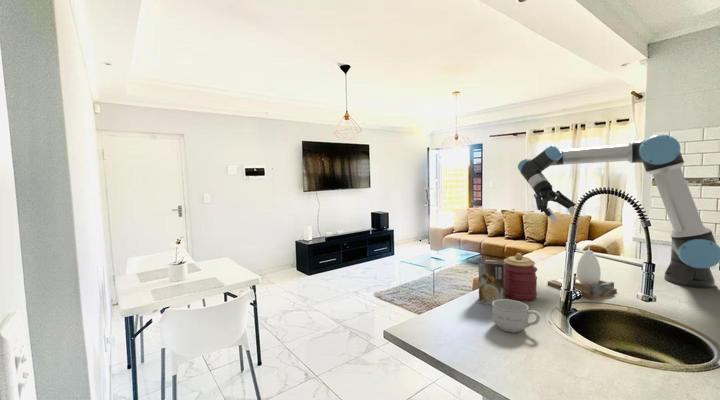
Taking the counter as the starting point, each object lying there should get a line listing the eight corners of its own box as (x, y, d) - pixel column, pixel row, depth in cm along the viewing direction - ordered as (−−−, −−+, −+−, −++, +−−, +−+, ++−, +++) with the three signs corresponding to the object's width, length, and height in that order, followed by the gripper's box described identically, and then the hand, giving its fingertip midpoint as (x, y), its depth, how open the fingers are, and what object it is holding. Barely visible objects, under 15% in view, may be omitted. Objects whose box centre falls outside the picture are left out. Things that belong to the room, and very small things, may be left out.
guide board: (573, 279, 146) (573, 269, 146) (616, 292, 129) (617, 281, 129) (547, 284, 141) (547, 274, 140) (589, 299, 124) (589, 288, 123)
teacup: (485, 327, 105) (485, 303, 104) (502, 317, 112) (503, 294, 111) (529, 344, 94) (529, 318, 93) (545, 332, 101) (546, 307, 100)
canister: (544, 299, 126) (545, 254, 124) (519, 304, 121) (519, 259, 120) (518, 288, 138) (518, 247, 136) (494, 292, 133) (494, 251, 132)
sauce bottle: (593, 284, 135) (595, 242, 133) (603, 291, 127) (605, 246, 126) (573, 283, 136) (574, 242, 135) (581, 290, 129) (583, 246, 127)
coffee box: (503, 300, 126) (504, 260, 124) (504, 306, 120) (504, 264, 119) (479, 297, 129) (478, 258, 128) (478, 303, 123) (478, 262, 122)
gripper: (555, 189, 161) (582, 223, 148) (515, 191, 154) (539, 227, 141) (565, 179, 155) (594, 213, 143) (523, 180, 148) (550, 216, 135)
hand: (567, 220), depth 142 cm, fingers open, 13 cm apart
